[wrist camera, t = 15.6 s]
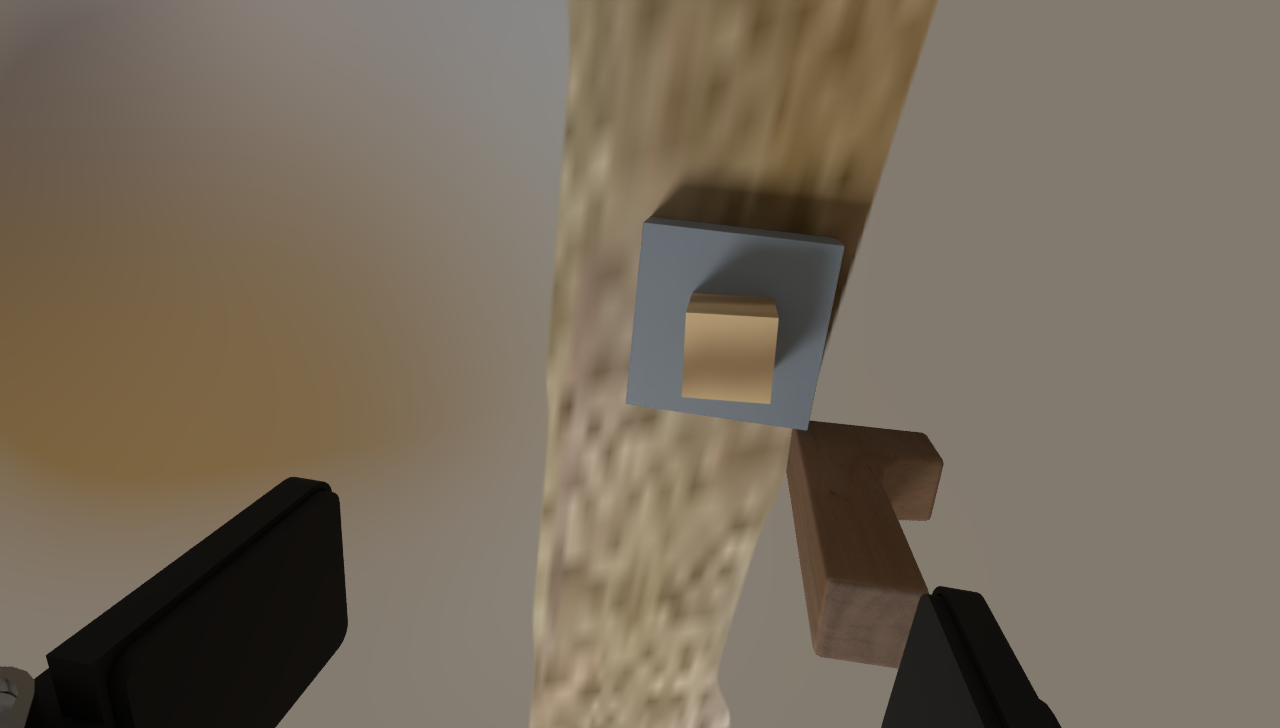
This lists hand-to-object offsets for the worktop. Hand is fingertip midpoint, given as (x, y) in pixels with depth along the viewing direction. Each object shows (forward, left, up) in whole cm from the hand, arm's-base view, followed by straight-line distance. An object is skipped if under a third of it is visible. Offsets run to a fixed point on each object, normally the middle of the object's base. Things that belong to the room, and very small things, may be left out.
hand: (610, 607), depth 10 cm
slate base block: (+4, +2, -35) cm, 35 cm away
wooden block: (+12, +12, -34) cm, 39 cm away
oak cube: (+4, +2, -31) cm, 31 cm away
